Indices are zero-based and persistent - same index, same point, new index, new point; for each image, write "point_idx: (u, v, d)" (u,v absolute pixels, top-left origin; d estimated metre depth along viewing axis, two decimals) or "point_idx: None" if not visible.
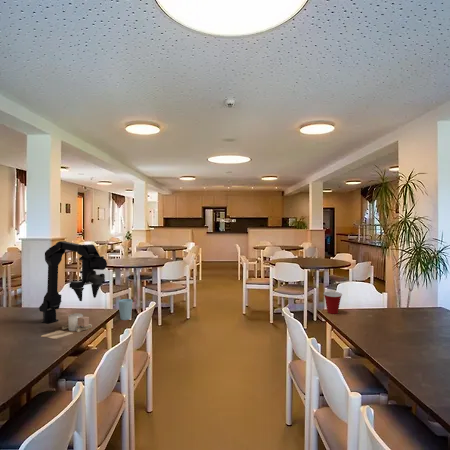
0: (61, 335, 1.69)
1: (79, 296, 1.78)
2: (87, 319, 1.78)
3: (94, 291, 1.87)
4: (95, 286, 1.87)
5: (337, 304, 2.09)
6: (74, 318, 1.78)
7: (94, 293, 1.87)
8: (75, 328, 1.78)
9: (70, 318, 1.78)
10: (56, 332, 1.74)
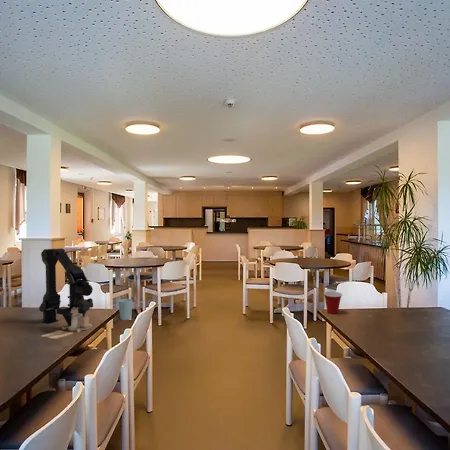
0: (61, 335, 1.69)
1: (68, 321, 1.77)
2: (87, 319, 1.78)
3: None
4: (82, 311, 1.85)
5: (337, 304, 2.09)
6: (74, 318, 1.78)
7: None
8: (75, 328, 1.78)
9: None
10: (56, 332, 1.74)
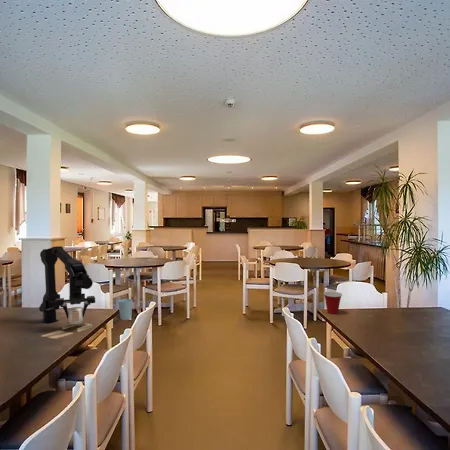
0: (61, 335, 1.69)
1: None
2: (76, 314, 1.74)
3: (83, 310, 1.83)
4: (84, 305, 1.82)
5: (337, 304, 2.09)
6: (69, 311, 1.78)
7: None
8: (70, 321, 1.78)
9: (68, 310, 1.80)
10: (56, 332, 1.74)
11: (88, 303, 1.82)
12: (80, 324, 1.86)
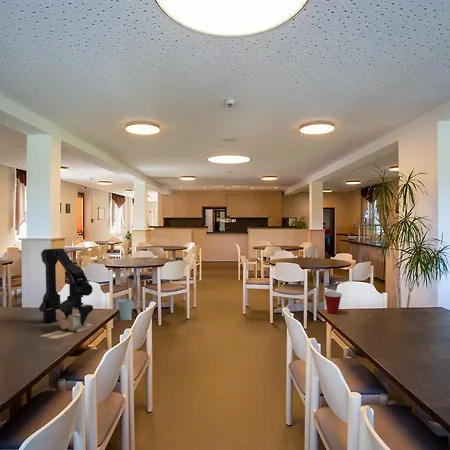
0: (61, 335, 1.69)
1: None
2: (63, 321, 1.74)
3: None
4: None
5: (337, 304, 2.09)
6: None
7: None
8: (68, 327, 1.80)
9: None
10: (56, 332, 1.74)
11: None
12: None
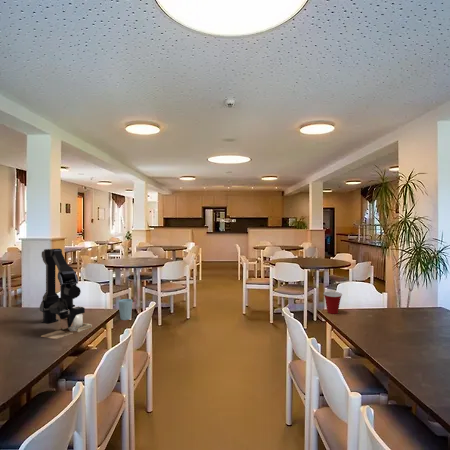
0: (61, 335, 1.69)
1: None
2: (63, 321, 1.74)
3: None
4: None
5: (337, 304, 2.09)
6: None
7: None
8: (68, 327, 1.80)
9: None
10: (56, 332, 1.74)
11: None
12: None
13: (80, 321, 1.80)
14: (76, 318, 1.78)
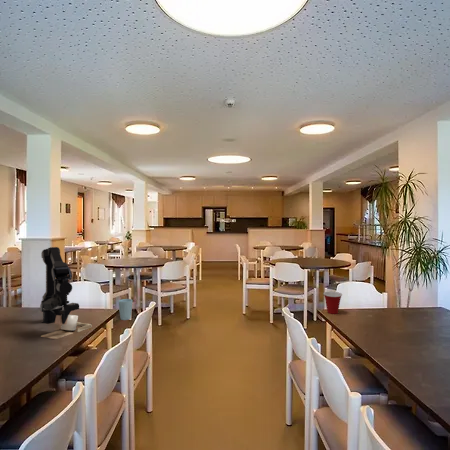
0: (61, 335, 1.69)
1: None
2: (58, 317, 1.71)
3: None
4: None
5: (337, 304, 2.09)
6: None
7: None
8: (61, 326, 1.76)
9: None
10: (56, 332, 1.74)
11: (64, 310, 1.70)
12: (80, 324, 1.86)
13: (74, 321, 1.76)
14: (71, 317, 1.75)
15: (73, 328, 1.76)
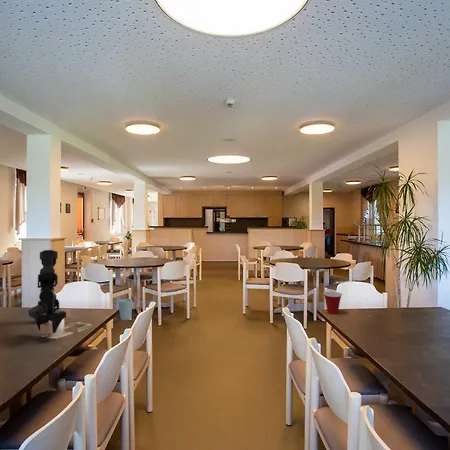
0: None
1: None
2: (43, 327, 1.64)
3: None
4: None
5: (337, 304, 2.09)
6: None
7: None
8: None
9: None
10: None
11: None
12: (80, 324, 1.86)
13: (61, 326, 1.69)
14: None
15: (61, 333, 1.69)
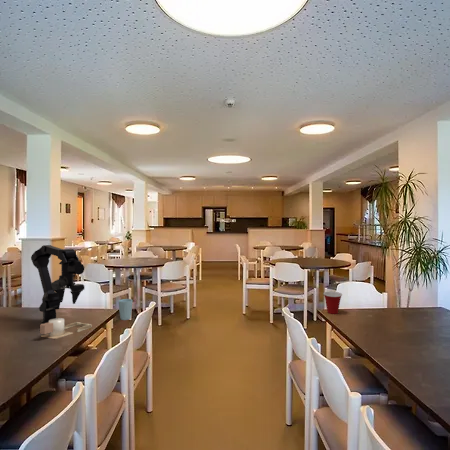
0: None
1: None
2: (43, 327, 1.64)
3: None
4: None
5: (337, 304, 2.09)
6: None
7: None
8: None
9: None
10: None
11: None
12: (80, 324, 1.86)
13: (61, 326, 1.69)
14: (57, 323, 1.68)
15: (61, 333, 1.69)
